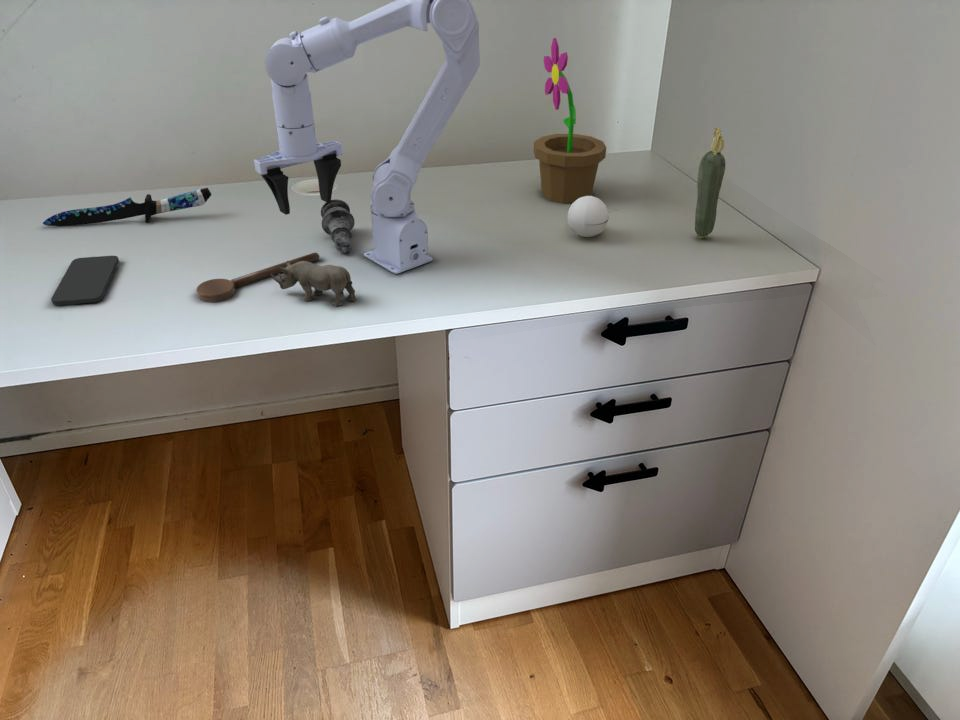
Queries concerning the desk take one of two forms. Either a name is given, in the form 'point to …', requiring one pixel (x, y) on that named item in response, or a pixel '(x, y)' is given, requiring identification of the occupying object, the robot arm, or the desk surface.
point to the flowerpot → (566, 145)
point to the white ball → (588, 216)
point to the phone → (85, 280)
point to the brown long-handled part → (242, 281)
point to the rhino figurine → (317, 280)
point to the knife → (129, 209)
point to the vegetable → (709, 186)
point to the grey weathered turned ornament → (338, 223)
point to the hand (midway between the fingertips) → (305, 206)
